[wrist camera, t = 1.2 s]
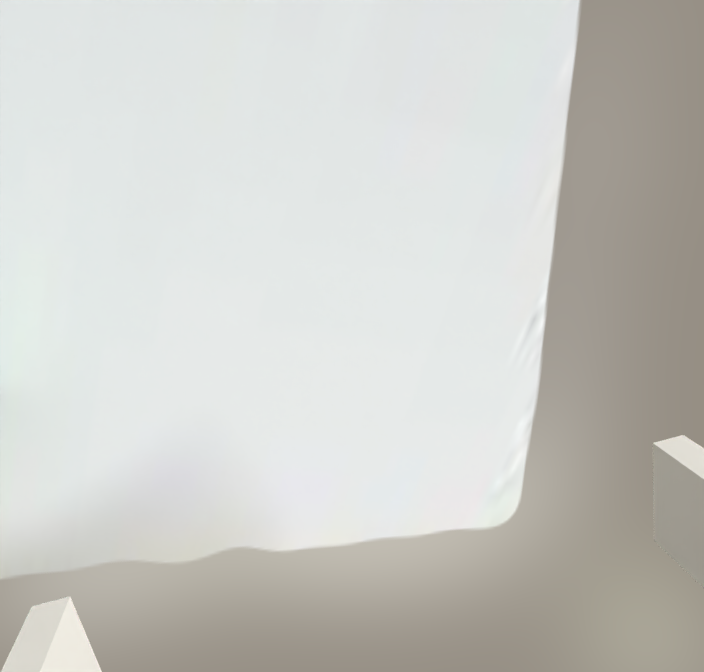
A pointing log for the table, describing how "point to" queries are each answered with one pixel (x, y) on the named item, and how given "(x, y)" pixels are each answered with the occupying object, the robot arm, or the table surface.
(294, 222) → the table surface
